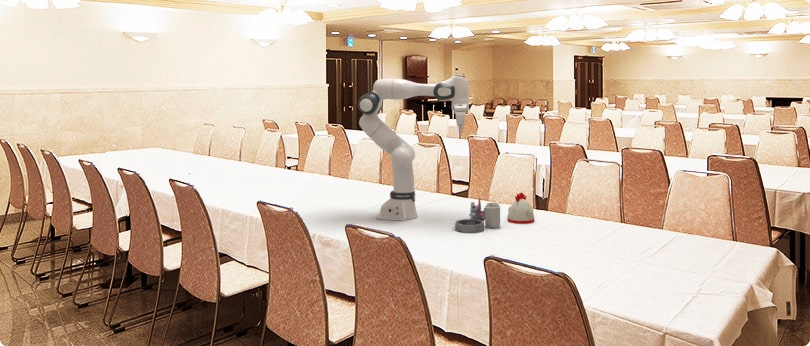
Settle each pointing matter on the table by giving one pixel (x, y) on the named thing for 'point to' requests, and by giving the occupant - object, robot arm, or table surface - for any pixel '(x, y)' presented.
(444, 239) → the table surface
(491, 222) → the can
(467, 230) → the steel ring
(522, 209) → the kitchen timer
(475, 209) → the brake caliper
